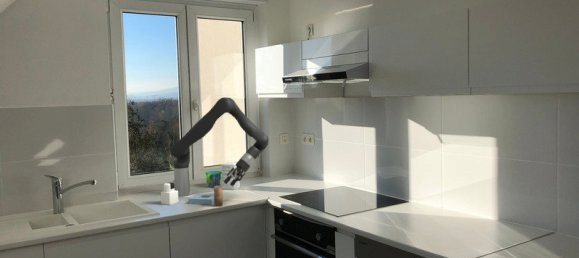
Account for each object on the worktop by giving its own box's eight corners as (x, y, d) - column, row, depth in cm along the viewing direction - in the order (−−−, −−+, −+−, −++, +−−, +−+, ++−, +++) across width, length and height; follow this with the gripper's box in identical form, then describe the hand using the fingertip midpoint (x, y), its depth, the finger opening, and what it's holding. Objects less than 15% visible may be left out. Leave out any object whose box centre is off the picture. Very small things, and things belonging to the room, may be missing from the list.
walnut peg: (213, 206, 276) (212, 187, 275) (216, 204, 280) (215, 185, 280) (220, 206, 275) (220, 187, 274) (223, 204, 279) (223, 185, 279)
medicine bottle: (169, 201, 292) (168, 181, 291) (178, 202, 288) (177, 182, 287) (160, 203, 286) (160, 183, 285) (169, 205, 282) (169, 184, 281)
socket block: (188, 203, 284) (188, 198, 284) (198, 198, 298) (198, 193, 297) (211, 204, 281) (211, 199, 281) (220, 199, 294) (220, 194, 294)
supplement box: (234, 190, 321) (233, 164, 319) (221, 189, 323) (220, 164, 322) (240, 187, 330) (239, 162, 328) (227, 186, 333) (227, 162, 331)
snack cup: (214, 183, 344) (214, 169, 343) (227, 185, 339) (226, 170, 338) (200, 188, 330) (200, 173, 330) (213, 189, 325) (212, 174, 324)
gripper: (235, 157, 290) (218, 178, 285) (246, 159, 278) (228, 182, 273) (244, 165, 293) (227, 186, 288) (255, 167, 281) (237, 190, 276)
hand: (228, 184), depth 280 cm, fingers open, 8 cm apart
